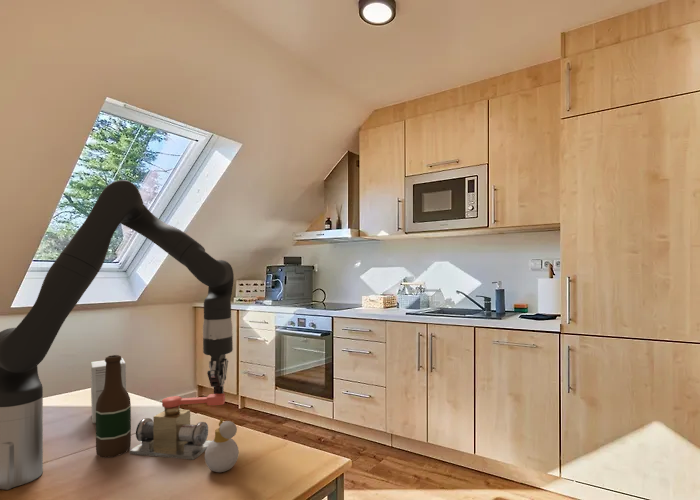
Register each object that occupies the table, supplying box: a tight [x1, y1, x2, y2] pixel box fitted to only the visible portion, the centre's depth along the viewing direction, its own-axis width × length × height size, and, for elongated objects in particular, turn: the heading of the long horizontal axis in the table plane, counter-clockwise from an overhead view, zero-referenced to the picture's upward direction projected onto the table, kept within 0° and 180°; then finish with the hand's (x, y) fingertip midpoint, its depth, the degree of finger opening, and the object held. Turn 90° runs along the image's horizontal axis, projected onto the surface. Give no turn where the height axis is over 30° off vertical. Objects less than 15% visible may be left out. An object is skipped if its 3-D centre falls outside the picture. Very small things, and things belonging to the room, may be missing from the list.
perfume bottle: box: [204, 417, 240, 473], centre depth 99 cm, size 8×10×12 cm
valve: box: [128, 405, 213, 460], centre depth 111 cm, size 9×18×11 cm, turn 77°
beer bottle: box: [95, 354, 132, 459], centre depth 110 cm, size 8×8×24 cm
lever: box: [161, 393, 226, 408], centre depth 112 cm, size 15×5×2 cm, turn 97°
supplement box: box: [90, 357, 127, 424], centre depth 136 cm, size 10×9×17 cm
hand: (218, 399), depth 116 cm, fingers closed
